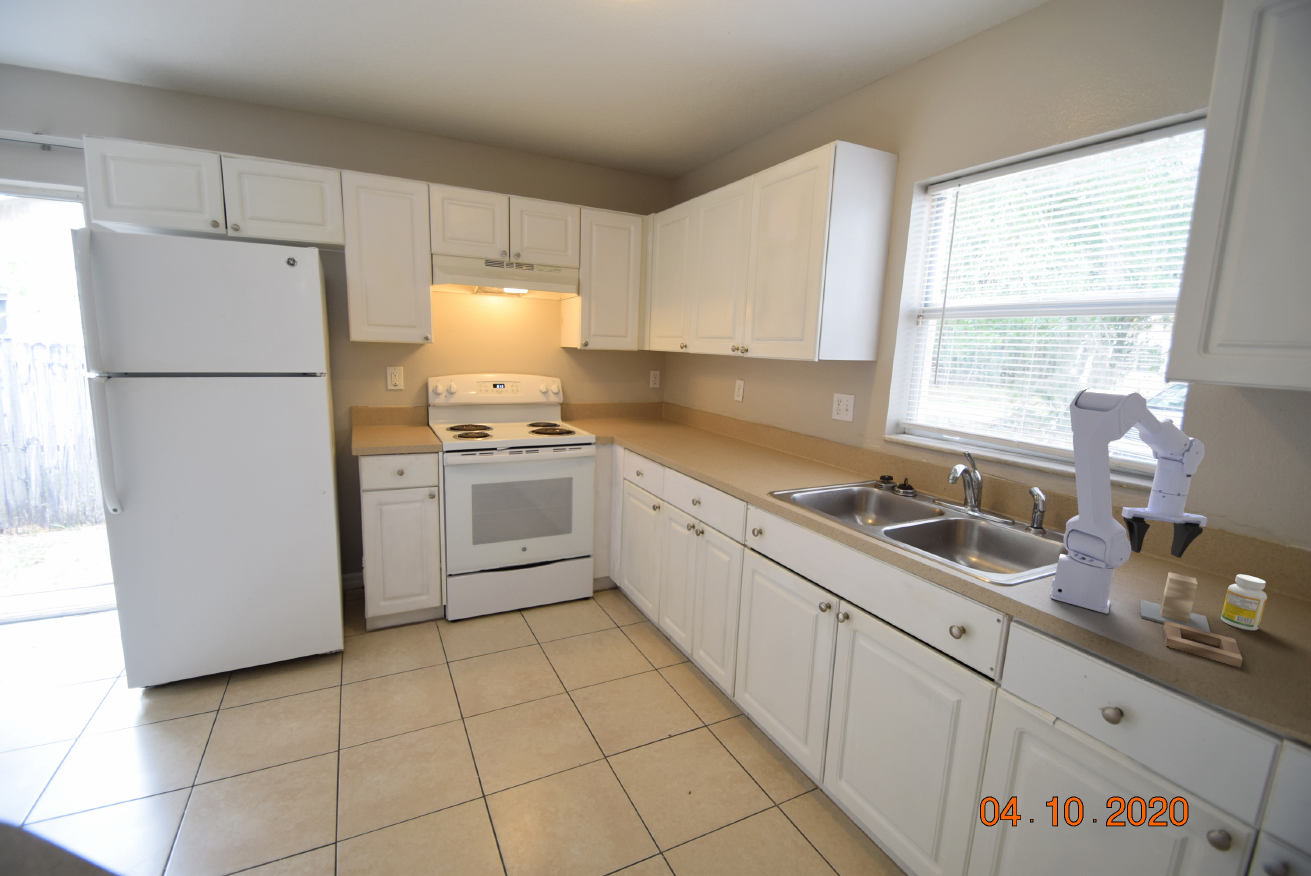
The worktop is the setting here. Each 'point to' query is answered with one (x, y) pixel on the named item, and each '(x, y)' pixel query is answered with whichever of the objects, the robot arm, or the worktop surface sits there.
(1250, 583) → the supplement bottle
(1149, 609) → the slate mat
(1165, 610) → the maple part
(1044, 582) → the worktop surface
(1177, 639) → the pocket block
